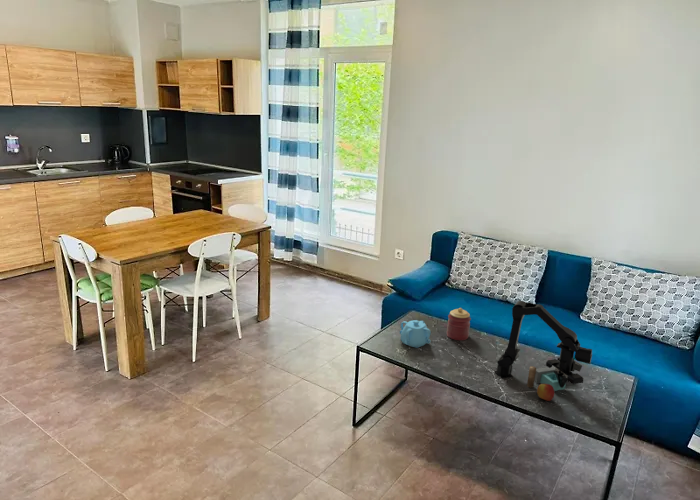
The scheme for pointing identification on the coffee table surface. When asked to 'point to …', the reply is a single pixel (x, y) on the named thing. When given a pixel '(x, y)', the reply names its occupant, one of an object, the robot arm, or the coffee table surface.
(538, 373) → the wall
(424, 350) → the coffee table surface
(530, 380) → the dowel
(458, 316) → the canister
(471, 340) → the coffee table surface
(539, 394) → the apple
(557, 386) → the holed block
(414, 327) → the decorative pot
